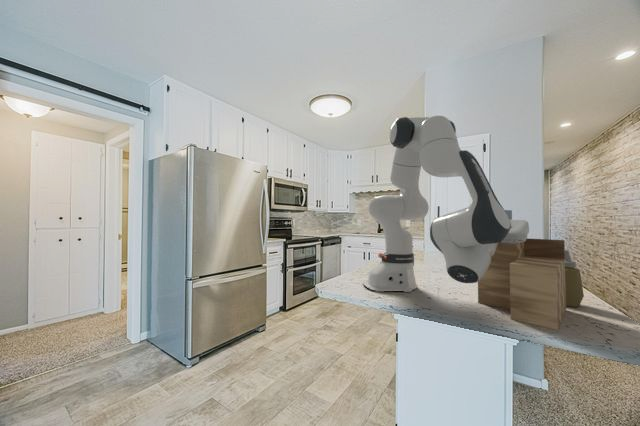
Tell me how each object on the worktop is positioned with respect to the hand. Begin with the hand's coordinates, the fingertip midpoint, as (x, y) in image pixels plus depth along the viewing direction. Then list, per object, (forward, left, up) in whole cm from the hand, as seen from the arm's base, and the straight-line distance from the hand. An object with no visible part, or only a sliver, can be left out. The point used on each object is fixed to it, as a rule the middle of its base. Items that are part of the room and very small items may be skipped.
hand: (491, 216), depth 82 cm
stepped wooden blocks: (+8, 0, -30) cm, 31 cm away
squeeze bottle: (+28, +2, -30) cm, 41 cm away
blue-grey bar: (+5, +3, -3) cm, 7 cm away
